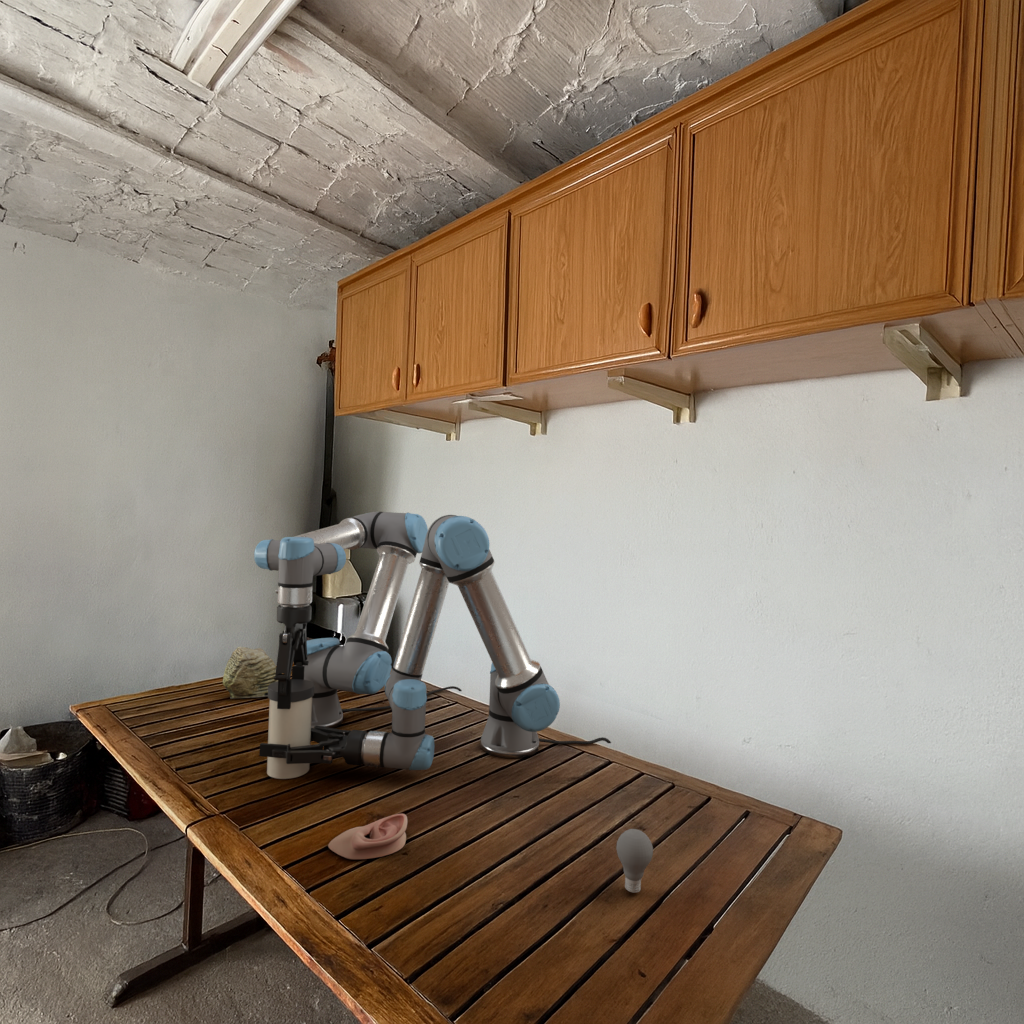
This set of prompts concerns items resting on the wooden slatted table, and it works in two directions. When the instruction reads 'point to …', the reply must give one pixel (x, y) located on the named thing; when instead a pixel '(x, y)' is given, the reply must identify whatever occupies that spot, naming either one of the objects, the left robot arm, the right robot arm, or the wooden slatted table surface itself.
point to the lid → (294, 690)
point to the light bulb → (634, 857)
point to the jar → (289, 736)
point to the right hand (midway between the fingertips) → (270, 741)
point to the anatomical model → (372, 839)
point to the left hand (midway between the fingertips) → (290, 700)
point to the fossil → (249, 673)
